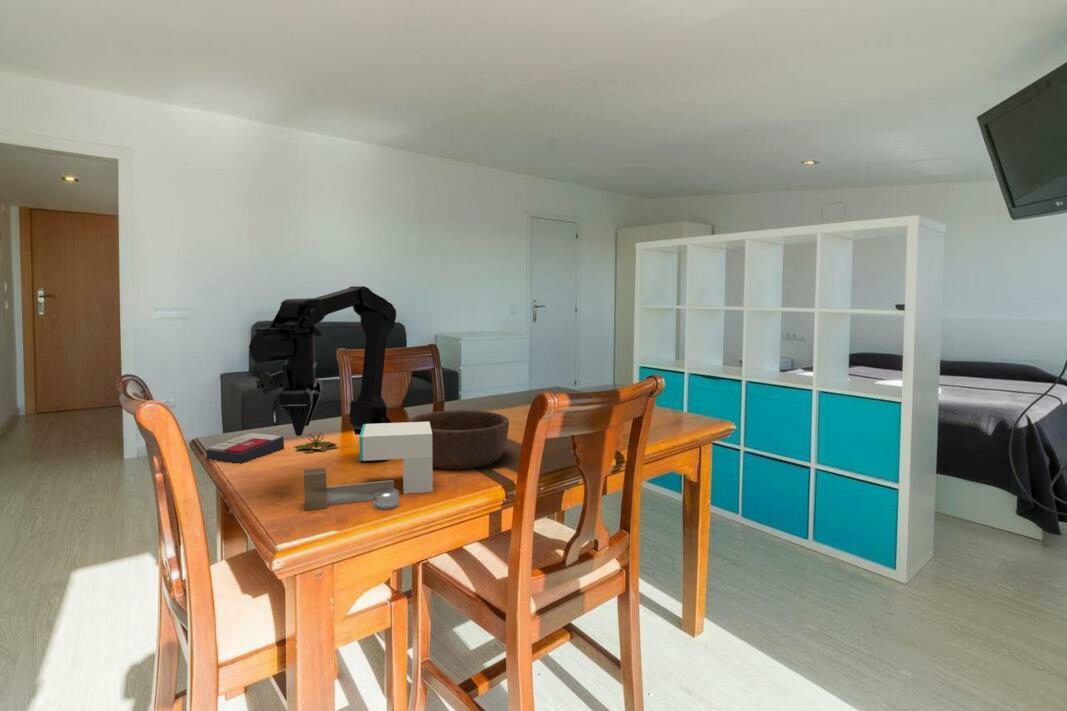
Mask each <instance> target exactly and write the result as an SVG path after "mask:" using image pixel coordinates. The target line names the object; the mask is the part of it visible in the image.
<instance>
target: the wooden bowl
mask: <svg viewBox="0 0 1067 711" xmlns="http://www.w3.org/2000/svg"><path fill="white" fill-rule="evenodd" d="M409 422H430V426H431V431H432V468H433V469H441V470H453V471H454V470H456V471H457V470H458V471H459V470H473V469H478V468H484V467H486V466H490V465H492V464H494V463H496V462H497V461H498V460H499V459H500V458H501V456H502V455H503V452H504V450H505V448H506V444H507V440H508V434H509V427H510V420H509V418H508V417H506V416H505V415H503V414H501V413H496V412H491V411H483V410H473V409H472V410H468V409H467V410H465V409H462V410H461V409H458V410H457V409H455V410H441V411H439V410H438V411H434V412H426V413H423V414H419V415H416V416H414V417H413V418H411V419H410V420H409Z"/></svg>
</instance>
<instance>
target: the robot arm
mask: <svg viewBox="0 0 1067 711" xmlns="http://www.w3.org/2000/svg"><path fill="white" fill-rule="evenodd" d="M351 307H352V309H353V312H354V313H355V314H357V315H358V316H359V317H360V327H361V328H362V331H363V333H364V335H365V342H364V352H363V353H364V354H363V364H362V375H361V382H360V383H361V385H360V392H359V393H360V394H359V395H358V396H357V398H356V400H351V401H350V404H349V405H350V407H349V408H350V411H349V414H348V417H349V419H350V425H352V429H353V433H354V434H355V435H359V436H360V433H361V430H362V427H363V424H378V423H393V422H391V420H390V419H389V418H388V416H387V406H386V404H385V401H384V399H383V397H382V391H383V378H384V366H385V357H386V355H385V354H386V348H387V347H386V346H387V338H388V337H389V336H390V334H391V333H392V331H393V330H394V327H395V325H396V324H395V323H396V318H397V309H396V308H395V307H394V305H393V303H392V302H390V301H388V300H387V299H386V298H384V297H382V296H380V295H378V294H376V293H375V292H373V291H372V290H371V289H370V288H369V287H367V286H363V285H361V286H360V285H359V286H358V285H357V286H354V285H351V286H349V287H347V288H344V289H341V290H338V291H333V292H330V293H328V294H323V295H321V296H316V297H312V298H311V297H310V298H309V297H307V298H287V299H284V300H283V301H281V302H280V306H279V310H278V311H277V313H276V315H275V316H274V318H273V319H272V322H271V323H270V325H269V327H267V328H265V327H264V328H263V327H262V328H259V327H258V328H256V329H255V333H256V334H255V335H253V337H252V338H251V340H250V344H249V346H248V351H249V354H250V357H251V359H252V360H253V361H255V362H256V363H257V364H262V363H263V364H265V363H274V362H281V361H285V363H284V364H283V365H282V370H280V371H277V372H274V373H270V372H265V373H263V374H260V375H258V379H257V380H256V381H255V383H256V389H258V390H259V391H260V394H261V396H262V395H263V396H264V395H267V394H269V392H272V391H274V390H277V389H281V388H282V391H281V392H279V394H278V395H277V396H276V398H277V405H278V406H279V408H280V409H283V410H285V412H287V413H288V415H289V418H290V420H291V423H292V424H291V425H292V427H293V431H294V433H295V436H296V437H298V436H299V437H301V436H302V435H303V432H304V430H305V427H308V426H309V425H310V423H311V421H312V417H313V414H314V412H315V410H316V408H317V404H318V403H319V400H320V397H321V394H322V391H323V382H322V381H321V380H320V379H319V378H318V377H317V378H316V368H317V361H315V360H316V359H315V357H316V356H315V355H316V353H315V337H321V336H323V333H322V332H321V331H320V330H318V328H317V327H316V326H315V325H317V324H318V323H320V322H322V321H323V320H324V319H325V317H326V316H328V315H329V314H332V313H336V312H339V311H341V310H342V311H343V310H346V309H347V308H351ZM315 391H317V392H315ZM388 460H389V459H387V460H368V461H363V460H361V461H360V463H371V462H372V463H373V462H374V463H375V462H387V461H388Z"/></svg>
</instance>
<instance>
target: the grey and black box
mask: <svg viewBox="0 0 1067 711" xmlns="http://www.w3.org/2000/svg"><path fill="white" fill-rule="evenodd" d="M282 449H283V450H285V442H284V436H281V435H273V434H267V433H266V434H264V433H256V432H250V433H246V434H244V435H242V436H237V437H234V438H231V439H229V440H226V441H224V442H220V443H218V444H214V445H212V446H209V447H208V449H206V450H205V451H206V460H207V459H211V460H217V461H216V462H219V461H223V462H222V463H228V462H232V463H231V464H236V463H240V464H239V465H243V464H242V463H244V464H246V463H249V462H252V461H254V460H253V459H255V460H257V459H256V458H258V459H260V458H263V457H266V456H267V454H268V455H271V454H274V453H273V452H275V453H277V452H280V451H283V450H282ZM276 451H277V452H276ZM265 455H266V456H265ZM262 456H263V457H262ZM259 457H260V458H259ZM251 460H252V461H251ZM248 461H249V462H248ZM245 462H246V463H245Z"/></svg>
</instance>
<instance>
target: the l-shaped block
mask: <svg viewBox="0 0 1067 711" xmlns="http://www.w3.org/2000/svg"><path fill="white" fill-rule="evenodd" d="M358 438H359V439H358V440H359V441H358V442H359V461H360V462H361V460H363V461H368V460H387V459H388V460H402V475H403V476H402V477H403V480H402V481H403V483H402V484H403V487H402V488H403V494H404V495H405V494H407V495H408V494H420V493H421V494H422V493H423V494H424V493H433V488H434V487H433V486H434V484H433V482H434V481H433V469H434V468H433V467H432V431H431V426H430V422H408V421H407V422H392V423H378V424H363V427H362V430H361V433H360V435H359V437H358ZM388 460H387V461H388Z"/></svg>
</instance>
